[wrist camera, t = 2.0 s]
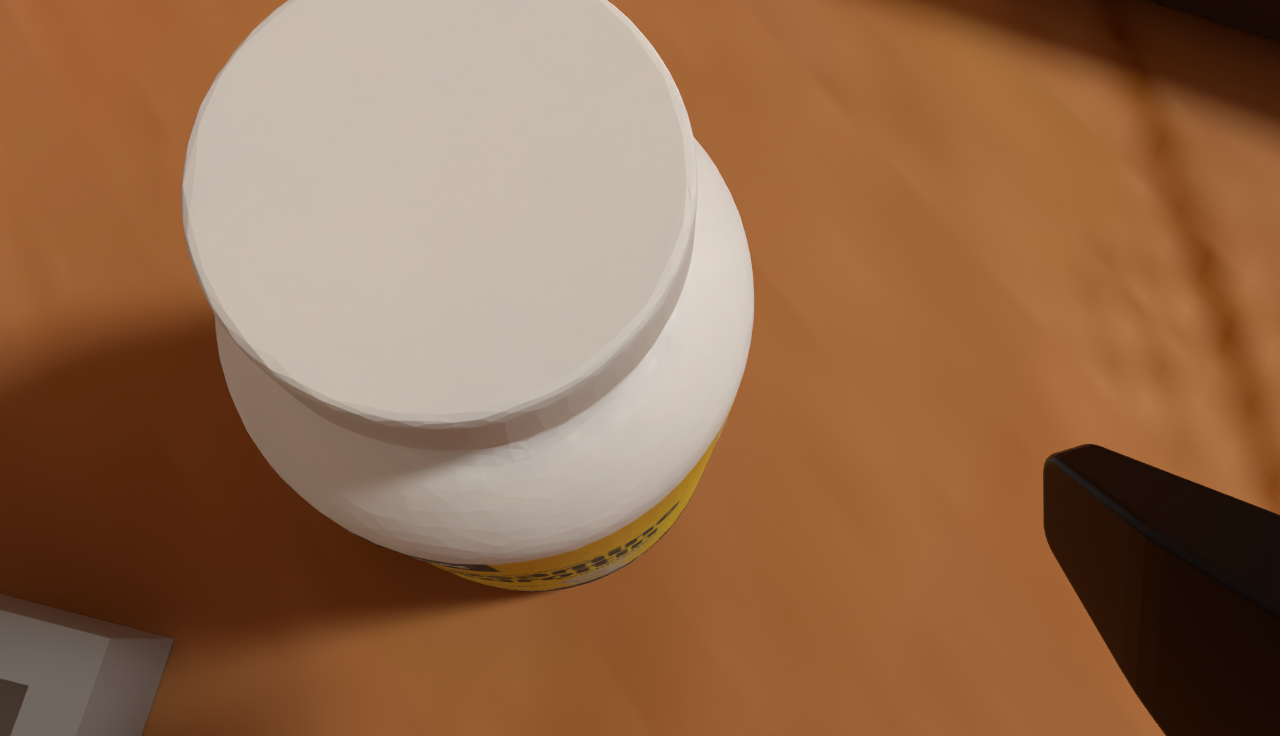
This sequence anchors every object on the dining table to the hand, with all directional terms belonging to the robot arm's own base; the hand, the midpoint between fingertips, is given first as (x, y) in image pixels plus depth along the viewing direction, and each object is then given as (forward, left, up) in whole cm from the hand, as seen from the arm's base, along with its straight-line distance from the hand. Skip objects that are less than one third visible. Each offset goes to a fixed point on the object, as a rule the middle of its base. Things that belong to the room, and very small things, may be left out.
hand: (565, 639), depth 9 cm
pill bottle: (+4, +2, -11) cm, 12 cm away
